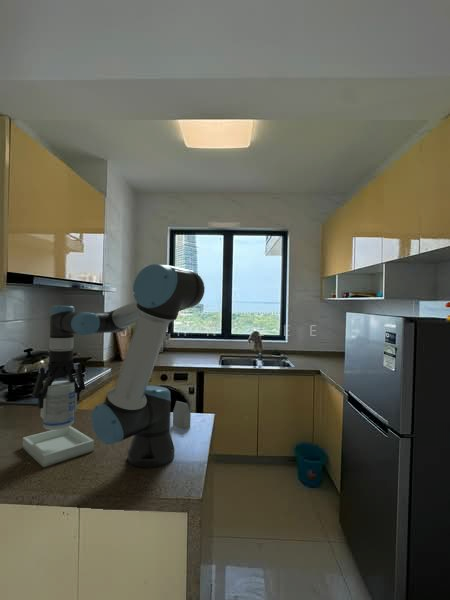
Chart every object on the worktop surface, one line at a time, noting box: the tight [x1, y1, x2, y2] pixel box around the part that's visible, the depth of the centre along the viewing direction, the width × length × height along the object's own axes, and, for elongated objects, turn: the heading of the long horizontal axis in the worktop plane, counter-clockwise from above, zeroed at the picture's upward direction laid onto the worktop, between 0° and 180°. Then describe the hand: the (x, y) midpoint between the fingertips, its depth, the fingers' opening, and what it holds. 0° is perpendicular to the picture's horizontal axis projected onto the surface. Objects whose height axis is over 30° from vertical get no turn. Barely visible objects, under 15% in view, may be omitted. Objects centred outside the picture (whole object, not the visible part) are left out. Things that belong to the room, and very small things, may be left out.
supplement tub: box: [42, 380, 75, 431], centre depth 110 cm, size 10×10×15 cm
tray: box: [22, 425, 95, 468], centre depth 110 cm, size 20×16×4 cm
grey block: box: [172, 400, 192, 430], centre depth 133 cm, size 4×7×10 cm, turn 53°
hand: (58, 413), depth 110 cm, fingers closed on supplement tub, 9 cm apart
